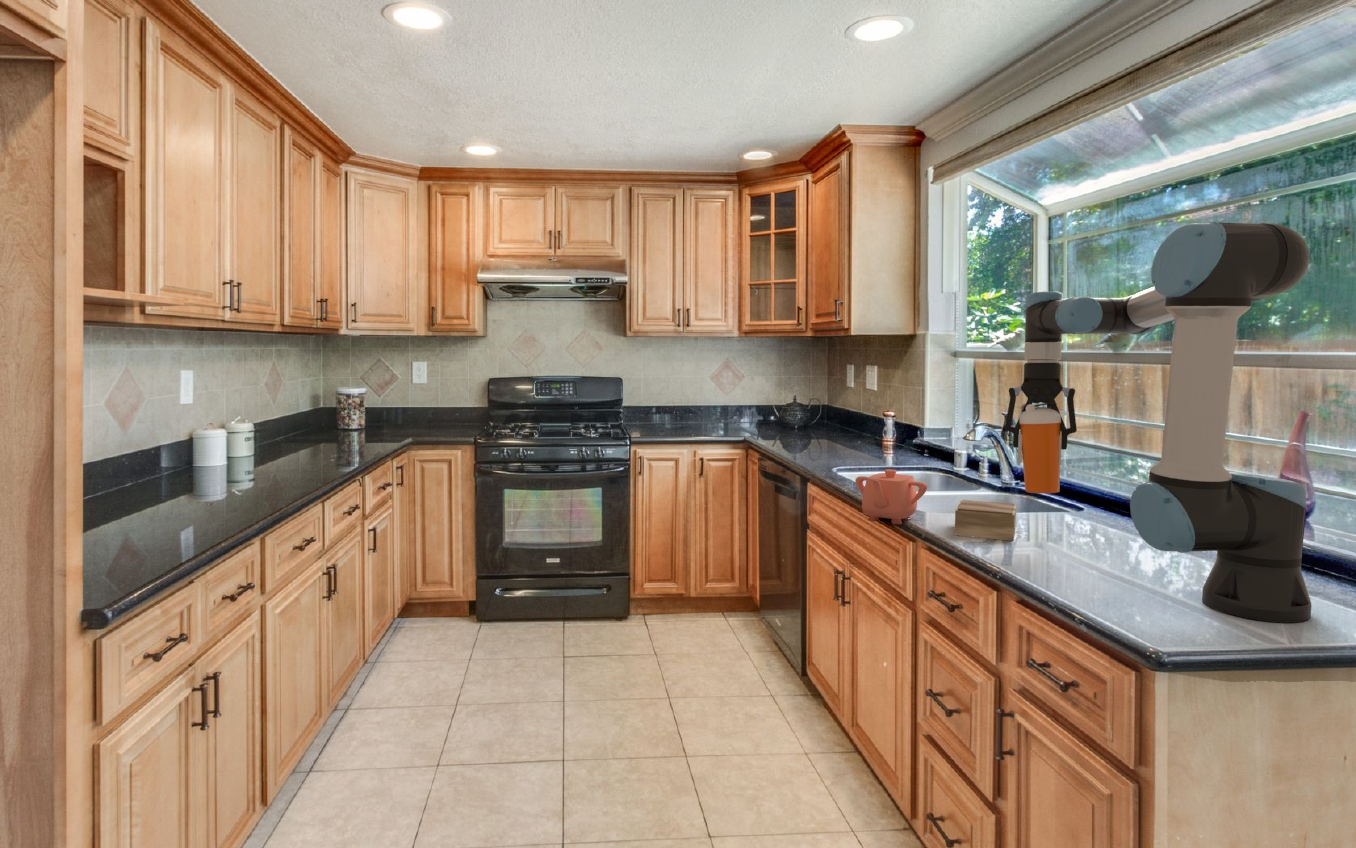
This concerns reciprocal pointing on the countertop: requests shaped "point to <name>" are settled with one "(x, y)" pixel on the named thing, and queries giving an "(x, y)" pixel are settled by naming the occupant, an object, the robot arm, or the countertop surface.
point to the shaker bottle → (1040, 448)
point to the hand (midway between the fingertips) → (1039, 462)
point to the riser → (985, 520)
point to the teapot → (890, 495)
